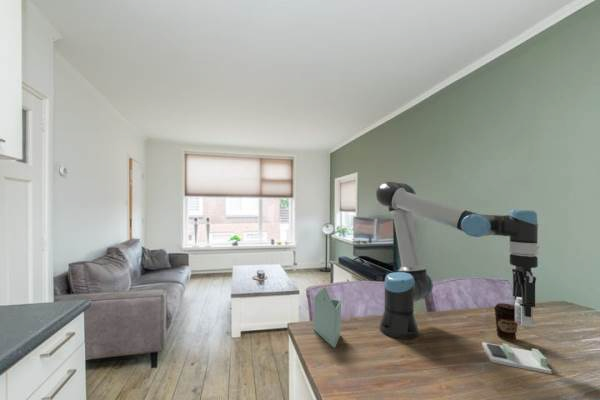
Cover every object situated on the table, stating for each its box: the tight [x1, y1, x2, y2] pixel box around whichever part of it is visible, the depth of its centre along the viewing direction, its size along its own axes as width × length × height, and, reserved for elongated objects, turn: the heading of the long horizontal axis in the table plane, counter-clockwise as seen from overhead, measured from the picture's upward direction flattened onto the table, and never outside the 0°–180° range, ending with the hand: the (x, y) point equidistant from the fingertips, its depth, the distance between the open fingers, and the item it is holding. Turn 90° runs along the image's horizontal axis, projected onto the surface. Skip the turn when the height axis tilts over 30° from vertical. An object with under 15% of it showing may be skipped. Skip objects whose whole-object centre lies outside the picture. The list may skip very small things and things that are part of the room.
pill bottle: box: [514, 297, 534, 326], centre depth 94 cm, size 5×5×8 cm
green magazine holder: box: [313, 286, 342, 349], centre depth 108 cm, size 16×8×20 cm, turn 24°
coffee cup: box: [493, 302, 519, 342], centre depth 111 cm, size 9×8×13 cm
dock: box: [481, 341, 552, 375], centre depth 95 cm, size 16×13×4 cm
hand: (523, 322), depth 94 cm, fingers closed on pill bottle, 5 cm apart
